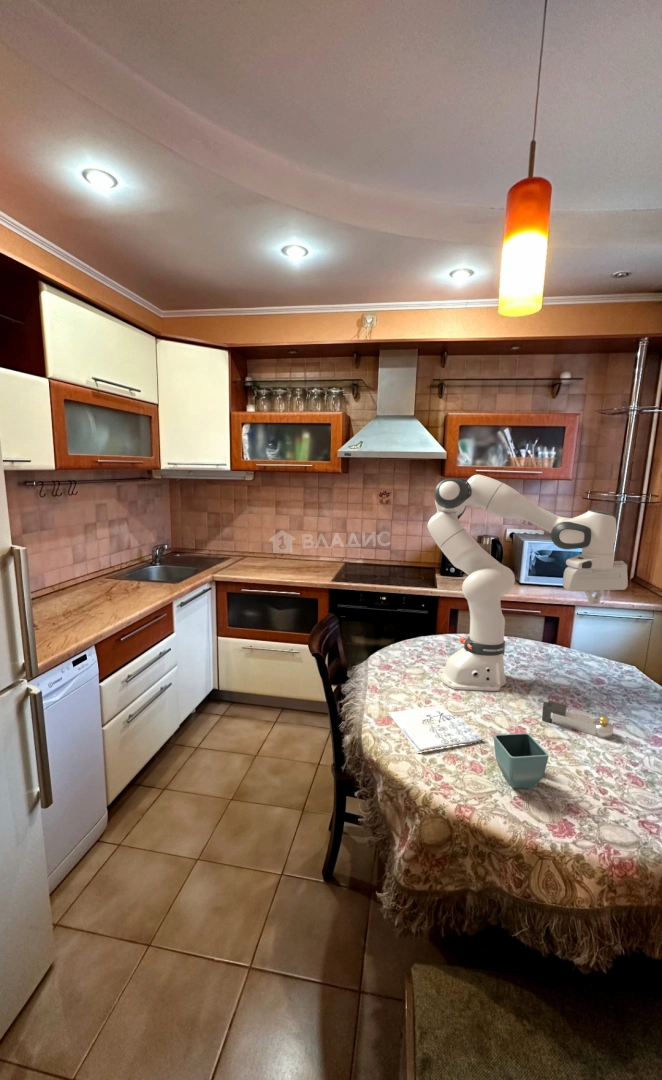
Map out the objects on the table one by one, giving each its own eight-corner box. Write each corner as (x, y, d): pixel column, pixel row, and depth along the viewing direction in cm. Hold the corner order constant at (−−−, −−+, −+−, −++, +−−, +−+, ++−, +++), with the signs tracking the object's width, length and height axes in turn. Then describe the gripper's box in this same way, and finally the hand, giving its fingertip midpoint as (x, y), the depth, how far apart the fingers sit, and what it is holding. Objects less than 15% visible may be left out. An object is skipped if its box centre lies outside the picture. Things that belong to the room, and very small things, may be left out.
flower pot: (490, 769, 104) (492, 734, 103) (525, 767, 105) (528, 732, 103) (508, 795, 95) (510, 757, 94) (546, 793, 96) (549, 755, 95)
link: (613, 733, 116) (614, 723, 116) (611, 741, 113) (612, 731, 112) (554, 716, 125) (554, 707, 124) (551, 723, 121) (552, 713, 121)
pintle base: (620, 759, 108) (623, 736, 107) (536, 735, 118) (538, 714, 117) (619, 725, 123) (621, 704, 122) (544, 706, 133) (546, 687, 132)
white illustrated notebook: (417, 756, 109) (418, 748, 109) (386, 715, 128) (386, 708, 128) (484, 744, 114) (484, 737, 114) (444, 706, 134) (444, 699, 133)
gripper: (619, 558, 143) (615, 599, 145) (561, 560, 141) (558, 601, 143) (635, 562, 137) (630, 605, 139) (574, 563, 135) (570, 607, 137)
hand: (593, 603), depth 141 cm, fingers closed
